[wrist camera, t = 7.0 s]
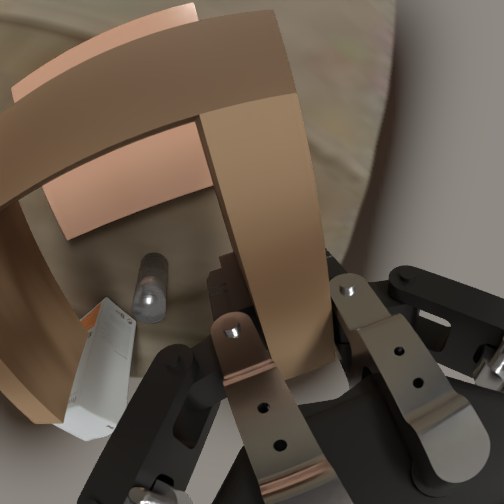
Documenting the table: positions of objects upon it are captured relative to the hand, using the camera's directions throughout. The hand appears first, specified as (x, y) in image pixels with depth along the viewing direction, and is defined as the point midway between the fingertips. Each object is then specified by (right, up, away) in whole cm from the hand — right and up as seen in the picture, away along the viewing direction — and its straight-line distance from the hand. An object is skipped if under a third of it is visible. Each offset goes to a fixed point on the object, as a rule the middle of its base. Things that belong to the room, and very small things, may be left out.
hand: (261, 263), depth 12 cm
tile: (-10, +10, +5) cm, 15 cm away
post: (-9, -1, +11) cm, 14 cm away
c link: (-6, +2, -1) cm, 7 cm away
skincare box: (-15, -6, +13) cm, 21 cm away
